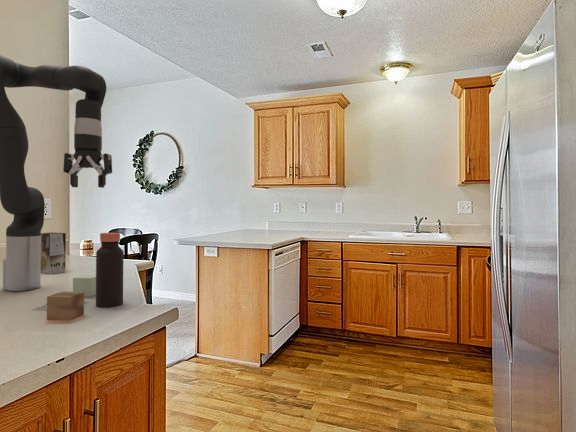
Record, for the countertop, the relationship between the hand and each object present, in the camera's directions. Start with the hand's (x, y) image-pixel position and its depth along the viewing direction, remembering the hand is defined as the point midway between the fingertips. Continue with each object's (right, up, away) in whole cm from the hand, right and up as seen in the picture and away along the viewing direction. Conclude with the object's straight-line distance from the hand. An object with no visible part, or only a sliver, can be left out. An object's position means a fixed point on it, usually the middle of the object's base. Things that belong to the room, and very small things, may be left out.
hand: (87, 187), depth 115 cm
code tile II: (+1, -33, -3) cm, 33 cm away
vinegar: (+13, -34, -13) cm, 39 cm away
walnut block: (+9, -33, -26) cm, 43 cm away
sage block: (+1, -33, -3) cm, 33 cm away
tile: (+1, -33, -16) cm, 37 cm away
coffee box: (-34, -32, +37) cm, 60 cm away
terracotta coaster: (+9, -34, -26) cm, 44 cm away
